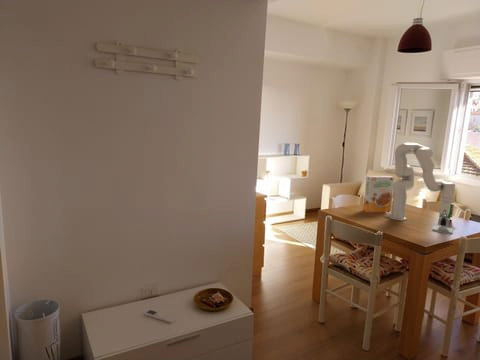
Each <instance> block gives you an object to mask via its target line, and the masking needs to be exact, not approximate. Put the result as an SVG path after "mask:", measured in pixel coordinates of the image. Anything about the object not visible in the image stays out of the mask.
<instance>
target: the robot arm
mask: <svg viewBox="0 0 480 360" xmlns="http://www.w3.org/2000/svg"><path fill="white" fill-rule="evenodd" d="M407 155H415V157H416V160H417V162H418V164H419V165H420V168H421V169H422V180H423V182H424V184H425V186H426V188H427V189H428V190H429V191H430V192H433V193H434V192H441V196H440V203H441V202H442V205H441V204H440V208H441V211H440V210H439V214H440V216H441V215H442V219H441V225H443V226H446V218H447V216H448V214H449V210H450V205H451V204H453V202H454V197H455V190H456V184H455V182H450V181H448V182H447V181H443V180H442V179H441V180H439V179H438V180H436V178H435V177H434V169H435V166H436V165H435V163H434V162H433V159H432V157H433V155H434V153H433V150H432V149H431V148H429V147H427V146H424V145H421V144H419V143H415V142H404V143H401V144H399V145H398V146H397V147H395V150H394V161H395V162H394V172H395V176H396V177H397V178H401V179H397V180H394V183H393V195H392V204H391V207H392V208H391V211H389V212H387V211H386V212H385V215H388V218H389V219H390V220H391V219H392V220H394V221H406V220H407V217H405V215H406V207H407V206H406V205H407V198H408V197H407V191H411V190H412V189H413V188H414V185H415V172H414V168H413V167H412V166H411V165H409V164H408V158H407Z"/></svg>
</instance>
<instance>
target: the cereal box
mask: <svg viewBox="0 0 480 360" xmlns="http://www.w3.org/2000/svg"><path fill="white" fill-rule="evenodd" d="M394 183H395V177H394V176H391V175H366V177H365V185H364V186H365V188H364V197H363V205H362V206H363V207H362V211H363V210H364V212H365V213H382V212H383V213H386V211H389V212H391V210H392V208H391V207H392V201H393V193H394V188H393V186H394Z"/></svg>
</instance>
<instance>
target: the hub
mask: <svg viewBox="0 0 480 360" xmlns="http://www.w3.org/2000/svg"><path fill="white" fill-rule="evenodd" d="M441 219H442V217H439V216H438V220H439V221H438V222H437V226H443V225H441ZM450 219H451V218H450ZM450 219H449V218H446V226H445V227H448V228H450V227H449V226H450V224H449V221H450Z"/></svg>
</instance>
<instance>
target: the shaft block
mask: <svg viewBox="0 0 480 360" xmlns="http://www.w3.org/2000/svg"><path fill="white" fill-rule="evenodd" d="M453 230H454V228H452V227H445V226H440V225H435V224H434V225H433V226H432V231H433V232H439V233H444V234H449V235H452V234H453Z"/></svg>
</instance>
